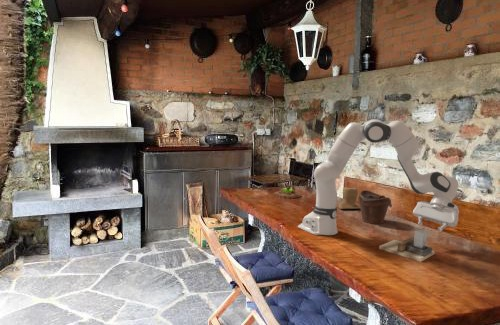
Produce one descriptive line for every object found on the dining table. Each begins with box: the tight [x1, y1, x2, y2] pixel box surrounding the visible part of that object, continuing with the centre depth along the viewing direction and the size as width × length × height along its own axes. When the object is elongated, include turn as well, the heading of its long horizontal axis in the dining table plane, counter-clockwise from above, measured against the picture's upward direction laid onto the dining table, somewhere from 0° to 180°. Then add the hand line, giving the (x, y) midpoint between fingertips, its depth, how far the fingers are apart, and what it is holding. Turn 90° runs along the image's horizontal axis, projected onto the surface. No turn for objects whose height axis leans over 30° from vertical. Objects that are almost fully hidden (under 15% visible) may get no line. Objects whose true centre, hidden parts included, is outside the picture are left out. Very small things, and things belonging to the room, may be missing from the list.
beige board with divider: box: [378, 236, 435, 263], centre depth 173 cm, size 20×15×6 cm
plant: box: [273, 181, 302, 200], centre depth 289 cm, size 20×20×11 cm
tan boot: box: [337, 187, 361, 210], centre depth 253 cm, size 15×12×15 cm
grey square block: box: [413, 229, 428, 250], centre depth 168 cm, size 4×4×10 cm
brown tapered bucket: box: [357, 190, 393, 225], centre depth 222 cm, size 18×20×18 cm
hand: (429, 227), depth 176 cm, fingers open, 8 cm apart
